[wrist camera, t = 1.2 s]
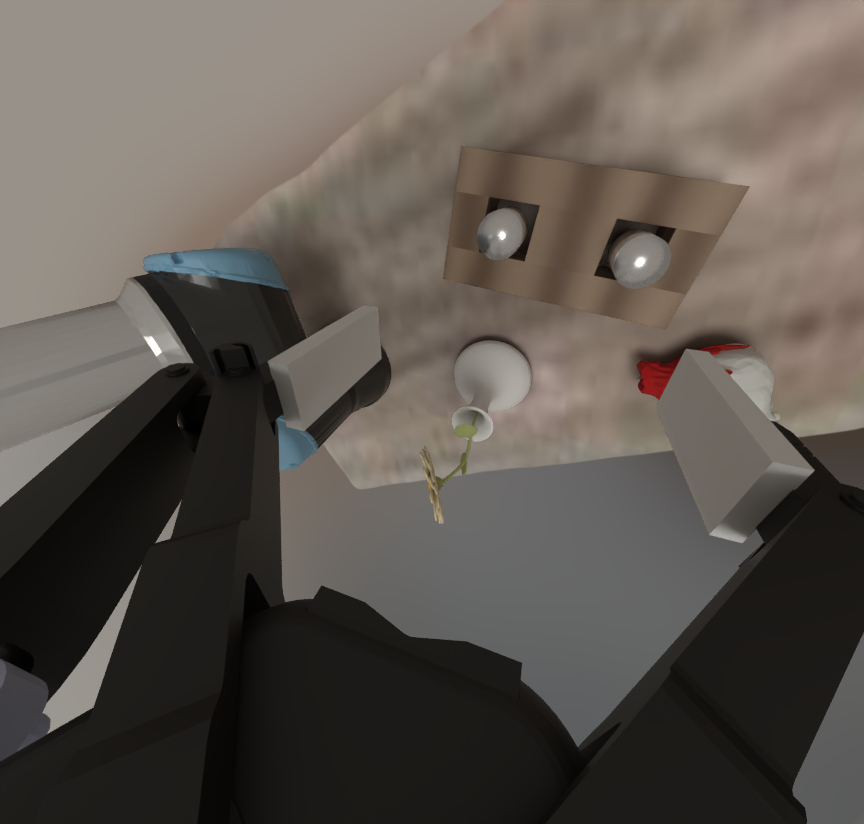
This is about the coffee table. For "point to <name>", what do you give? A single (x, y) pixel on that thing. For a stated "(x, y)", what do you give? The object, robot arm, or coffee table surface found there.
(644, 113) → the coffee table surface
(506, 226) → the steel peg
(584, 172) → the walnut block
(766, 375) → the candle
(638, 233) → the steel peg
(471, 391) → the flower in vase
